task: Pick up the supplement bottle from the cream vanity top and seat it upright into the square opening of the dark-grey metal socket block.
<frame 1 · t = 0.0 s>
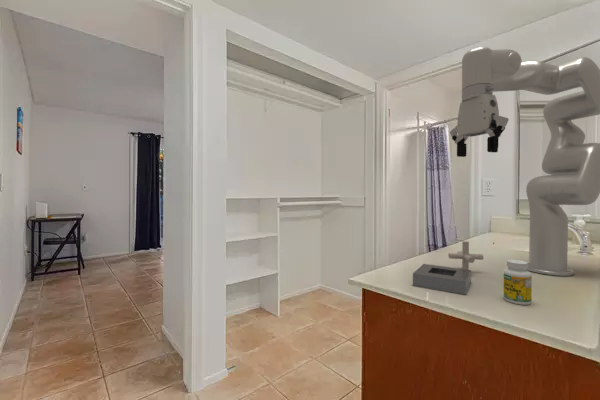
hand: (476, 154, 82), 37 cm above the counter, tool pointing down, fingers open, 9 cm apart
supplement bottle: (516, 301, 68), on the counter
socket block: (442, 283, 82), on the counter
pipe connector: (465, 272, 94), on the counter
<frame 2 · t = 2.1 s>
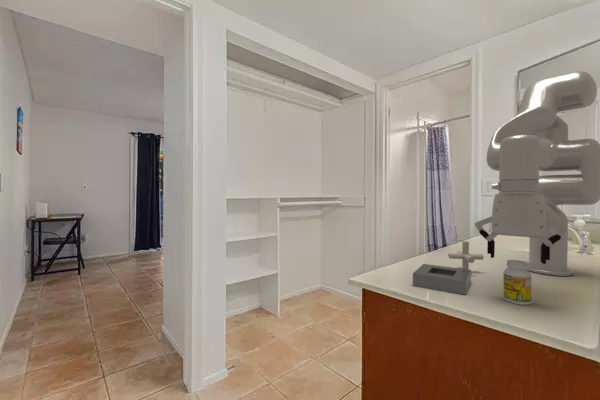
hand: (516, 259, 68), 10 cm above the counter, tool pointing down, fingers open, 9 cm apart
nothing on the counter moved.
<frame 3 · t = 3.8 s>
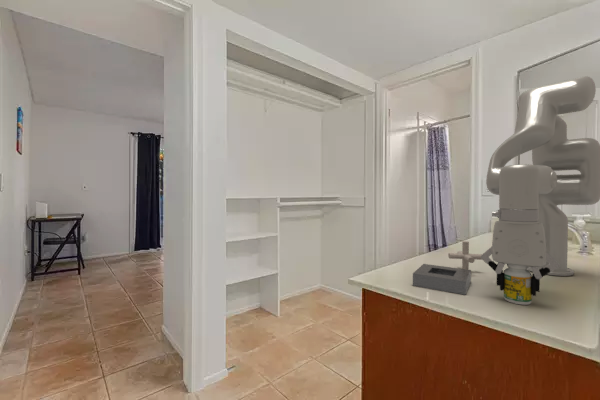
hand: (517, 290, 68), 3 cm above the counter, tool pointing down, fingers closed on supplement bottle, 5 cm apart
supplement bottle: (517, 301, 68), on the counter, touching gripper
everything else where it was.
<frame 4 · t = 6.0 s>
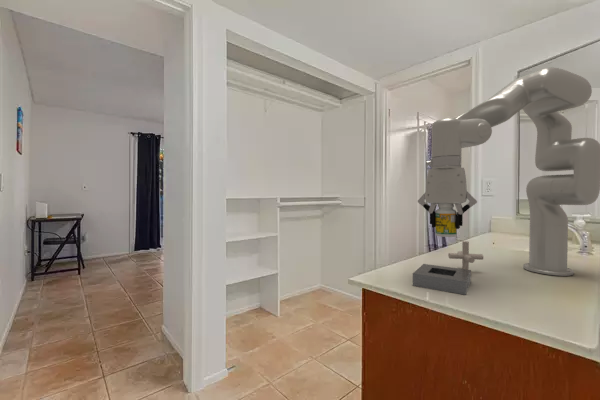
hand: (445, 227, 80), 16 cm above the counter, tool pointing down, fingers closed on supplement bottle, 5 cm apart
supplement bottle: (445, 236, 80), point 14 cm above the counter, touching gripper
everything else where it was.
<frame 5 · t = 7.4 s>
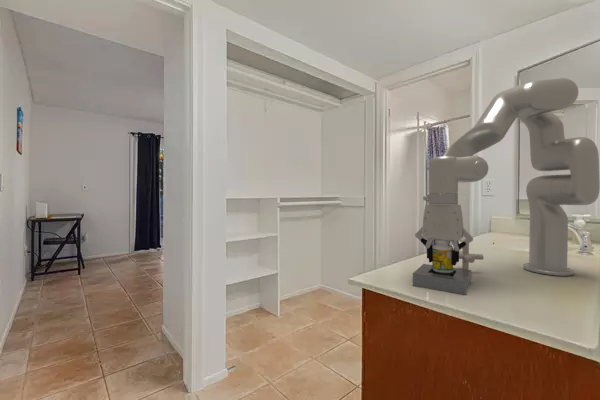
hand: (442, 262, 81), 6 cm above the counter, tool pointing down, fingers closed on supplement bottle, 5 cm apart
supplement bottle: (442, 271, 81), point 4 cm above the counter, touching gripper
everything else where it was.
when the fingers open (4 cm above the counter, at t = 8.5 s): supplement bottle drops 2 cm, resting in socket block.
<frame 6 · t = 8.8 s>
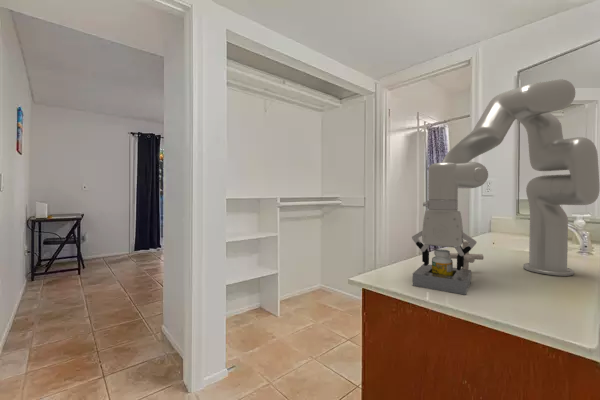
hand: (442, 266, 81), 5 cm above the counter, tool pointing down, fingers open, 8 cm apart
supplement bottle: (442, 284, 82), resting in socket block
everything else where it was.
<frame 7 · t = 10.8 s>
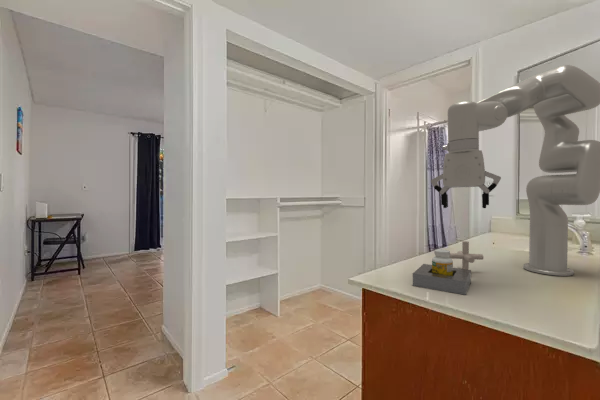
hand: (464, 207, 81), 22 cm above the counter, tool pointing down, fingers open, 9 cm apart
nothing on the counter moved.
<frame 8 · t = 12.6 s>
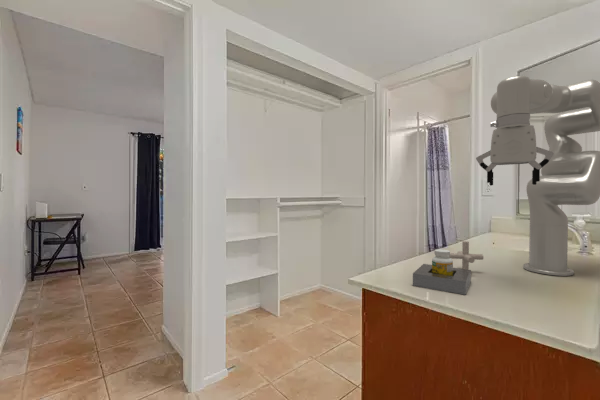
hand: (512, 184, 79), 28 cm above the counter, tool pointing down, fingers open, 9 cm apart
nothing on the counter moved.
at the end: supplement bottle 0.1 cm from the socket block (horizontally); supplement bottle touching counter; supplement bottle tilted 0° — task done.
